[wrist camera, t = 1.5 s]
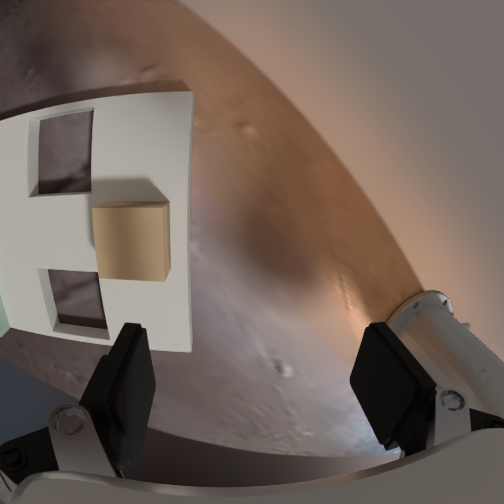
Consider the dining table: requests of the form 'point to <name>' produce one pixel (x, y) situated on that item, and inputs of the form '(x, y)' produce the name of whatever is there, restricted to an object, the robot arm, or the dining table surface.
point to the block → (132, 240)
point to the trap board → (81, 219)
